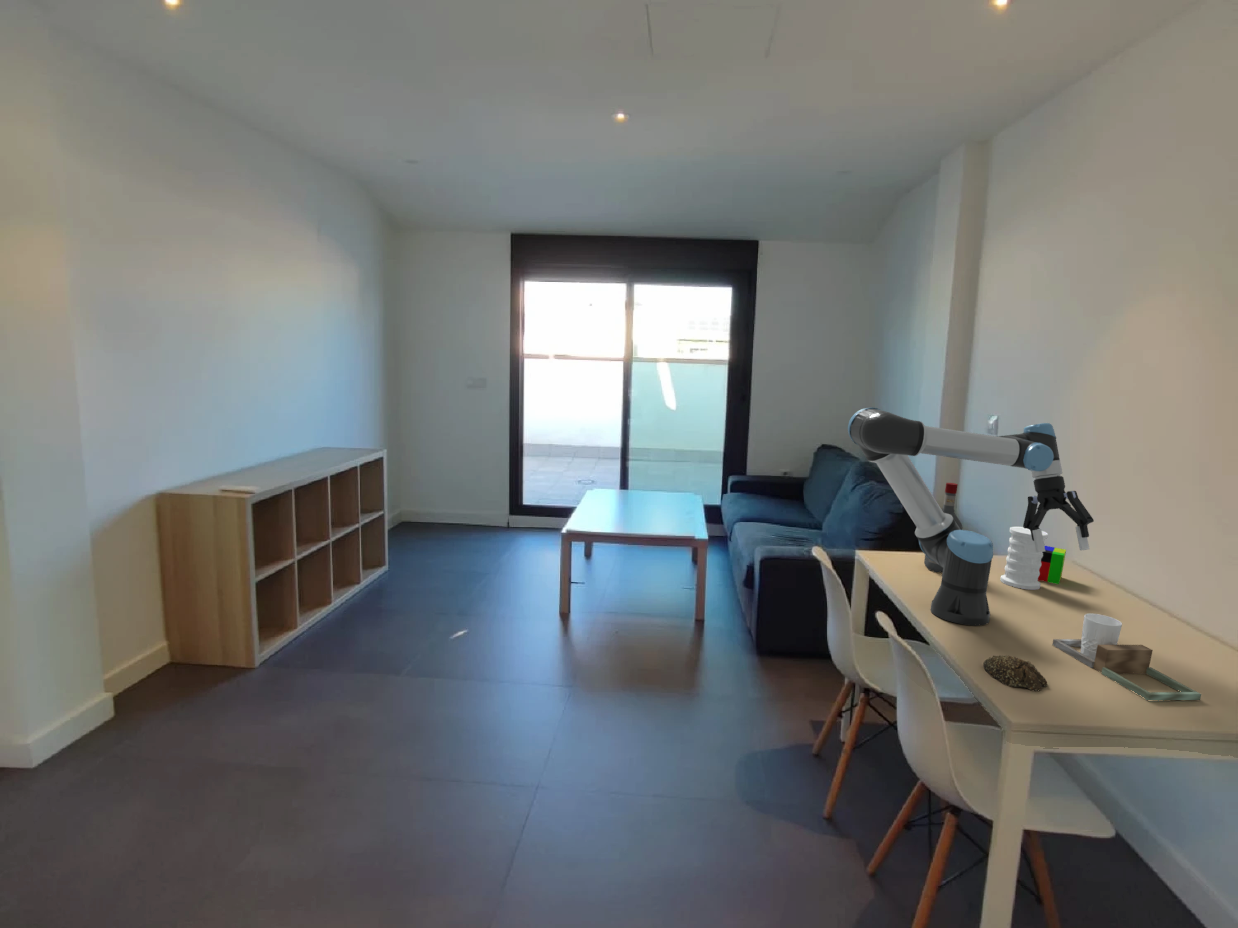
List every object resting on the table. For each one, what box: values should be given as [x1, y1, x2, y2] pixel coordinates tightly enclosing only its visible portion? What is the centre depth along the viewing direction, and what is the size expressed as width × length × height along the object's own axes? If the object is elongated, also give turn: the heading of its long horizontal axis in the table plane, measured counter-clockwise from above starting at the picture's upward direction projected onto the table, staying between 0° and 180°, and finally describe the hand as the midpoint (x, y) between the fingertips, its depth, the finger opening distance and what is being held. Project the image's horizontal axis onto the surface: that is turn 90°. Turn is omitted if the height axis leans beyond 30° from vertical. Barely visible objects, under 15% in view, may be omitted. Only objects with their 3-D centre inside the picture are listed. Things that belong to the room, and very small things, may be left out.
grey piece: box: [1051, 638, 1202, 702], centre depth 171 cm, size 13×29×6 cm, turn 8°
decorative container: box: [999, 526, 1049, 591], centre depth 233 cm, size 12×12×18 cm
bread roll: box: [982, 654, 1048, 692], centre depth 164 cm, size 13×12×5 cm
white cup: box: [1079, 612, 1123, 661], centre depth 178 cm, size 8×8×10 cm
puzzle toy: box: [1038, 545, 1067, 585], centre depth 243 cm, size 10×10×10 cm
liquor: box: [923, 482, 963, 574], centre depth 243 cm, size 9×9×30 cm
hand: (1062, 551), depth 203 cm, fingers open, 13 cm apart
